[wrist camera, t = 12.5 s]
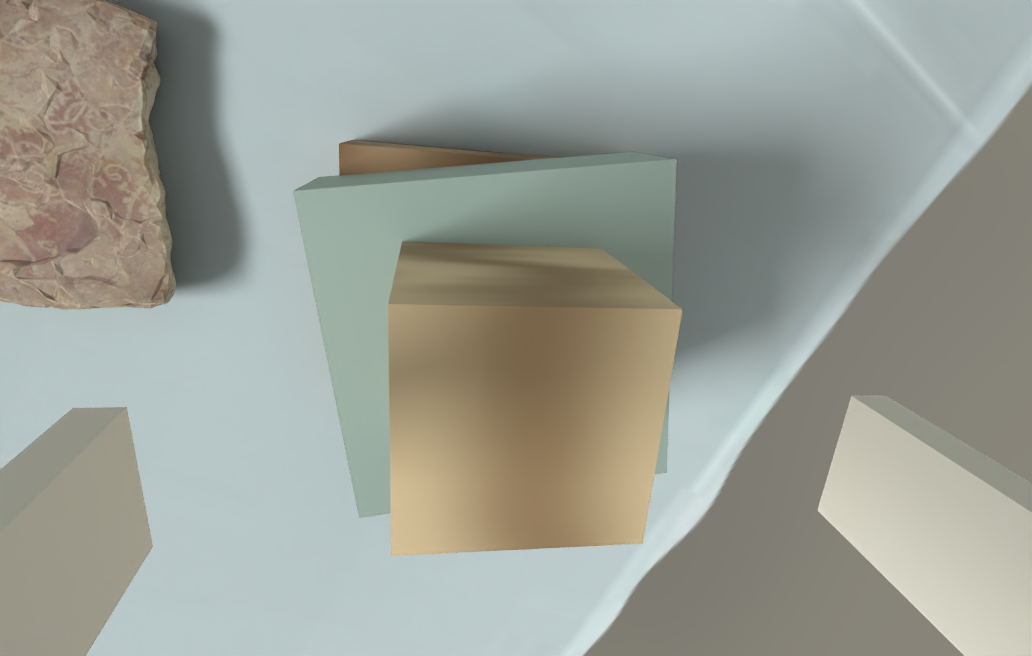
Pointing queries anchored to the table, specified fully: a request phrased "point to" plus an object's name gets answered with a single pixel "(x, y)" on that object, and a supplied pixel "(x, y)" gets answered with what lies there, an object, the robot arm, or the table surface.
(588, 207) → the tower top
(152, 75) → the stone
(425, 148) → the tower base
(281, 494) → the table surface
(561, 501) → the oak block
